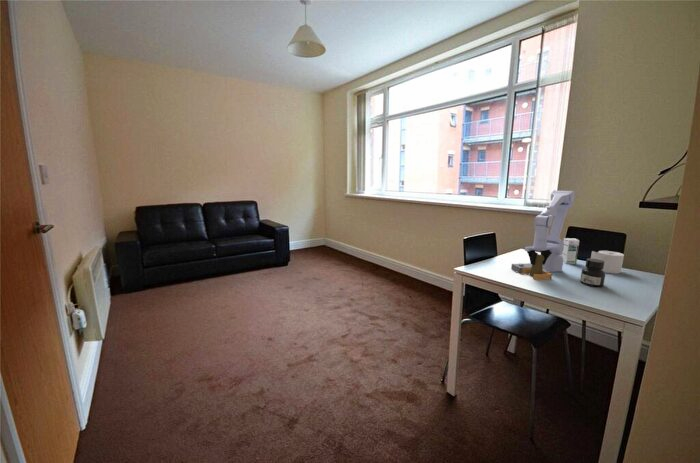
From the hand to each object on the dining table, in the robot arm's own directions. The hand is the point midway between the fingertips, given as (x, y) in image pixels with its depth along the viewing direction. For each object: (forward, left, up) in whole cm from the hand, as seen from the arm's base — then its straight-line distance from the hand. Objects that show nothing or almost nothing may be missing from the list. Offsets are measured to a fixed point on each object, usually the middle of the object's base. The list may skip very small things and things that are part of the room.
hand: (537, 264), depth 154 cm
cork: (0, 0, -6) cm, 6 cm away
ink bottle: (-19, +13, -7) cm, 24 cm away
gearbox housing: (0, -3, -6) cm, 7 cm away
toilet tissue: (-45, -5, -7) cm, 46 cm away
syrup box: (-36, -21, -7) cm, 42 cm away
